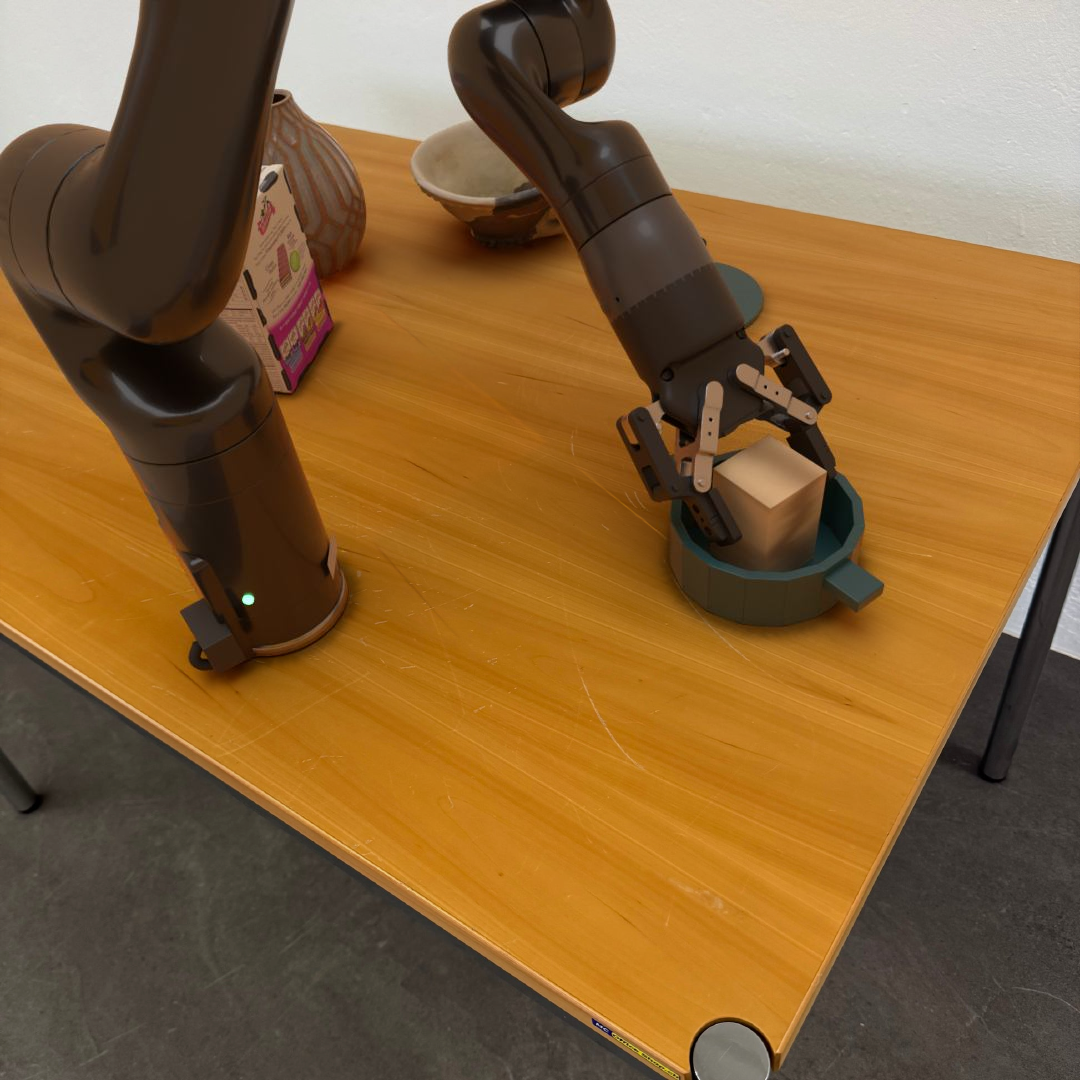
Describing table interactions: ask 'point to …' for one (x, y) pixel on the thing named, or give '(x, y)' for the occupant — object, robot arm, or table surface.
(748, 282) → the lid
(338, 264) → the vase
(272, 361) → the candy bar box
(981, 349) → the table surface
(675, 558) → the pot
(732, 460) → the block
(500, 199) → the bowl
